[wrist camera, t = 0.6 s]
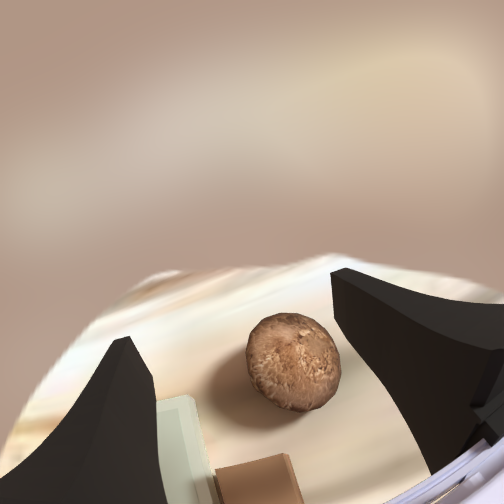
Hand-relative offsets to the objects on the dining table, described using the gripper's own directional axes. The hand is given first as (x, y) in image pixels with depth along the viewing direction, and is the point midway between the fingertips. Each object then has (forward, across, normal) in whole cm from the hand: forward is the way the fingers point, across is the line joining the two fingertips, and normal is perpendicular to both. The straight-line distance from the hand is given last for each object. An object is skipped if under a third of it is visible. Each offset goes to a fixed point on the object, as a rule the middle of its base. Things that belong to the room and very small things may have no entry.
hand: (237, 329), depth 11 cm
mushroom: (+9, -4, +14) cm, 17 cm away
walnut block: (+2, +2, +18) cm, 18 cm away
